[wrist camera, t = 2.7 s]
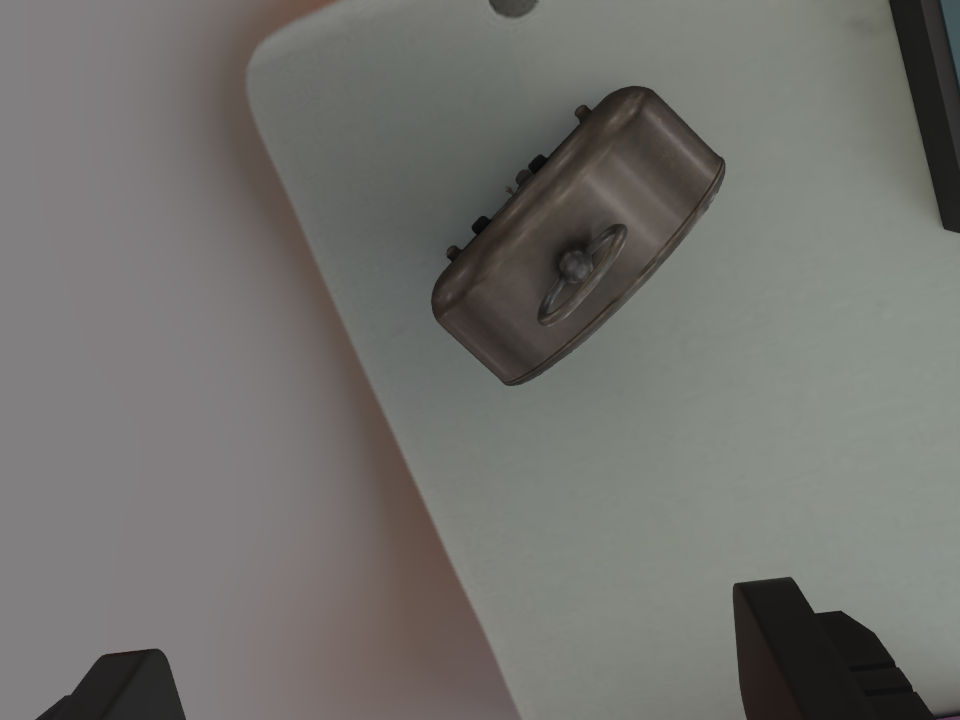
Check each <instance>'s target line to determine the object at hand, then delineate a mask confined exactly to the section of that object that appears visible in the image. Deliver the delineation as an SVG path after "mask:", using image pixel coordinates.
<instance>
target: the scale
mask: <svg viewBox="0 0 960 720" xmlns="http://www.w3.org/2000/svg"><path fill="white" fill-rule="evenodd" d="M890 4H891V8H892V12H893V16H894V21H895V25H896V29H897V33H898V37H899V41H900V46H901V50H902V54H903V58H904V62H905V67H906V71H907V75H908V79H909V83H910V87H911V92H912V96H913V100H914V104H915V108H916V112H917V117H918V121H919V125H920V129H921V133H922V138H923V142H924V146H925V150H926V154H927V158H928V163H929V167H930V171H931V175H932V179H933V183H934V188H935V192H936V196H937V200H938V204H939V209H940V213H941V217H942V221H943V225H944V229H945V230H949V231H953V232H957V233H960V0H890Z"/></svg>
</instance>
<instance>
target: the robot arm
mask: <svg viewBox="0 0 960 720" xmlns="http://www.w3.org/2000/svg"><path fill="white" fill-rule="evenodd" d="M733 606H734V619H735V632H736V645H737V658H738V671H739V683H740V690H741V696H742V701H743V706H744V710H745V714H746V718H747V720H936V719H935V717H934V716H933V715H932V713H931V712H930V710H929V709H928V708H927V706H926V705H925V703H924V702H923V701H922V699H921V698H920V696H919V695H918V694H917V692H913V689H912V685H911V684H910V682H909V681H908V679H907V678H906V677H905V675H904V674H903V672H902V671H901V670H900V668H899V667H897V668H896V665H895V661H894V660H893V658H892V657H891V656H890V654H889V653H888V651H887V650H886V649H885V647H884V646H883V644H882V643H881V642H880V640H879V639H878V637H877V636H876V635H875V633H874V632H872V631H871V630H869V629H868V628H866V627H865V626H863V625H862V624H860V623H859V622H857V621H856V620H854V619H853V618H851V617H850V616H848V615H847V614H845V613H844V612H842V611H833V612H824V613H814V611H813V610H812V608H811V606H810V605H809V603H808V602H807V600H806V598H805V597H804V595H803V594H802V592H801V590H800V589H799V587H798V586H797V584H796V582H795V581H794V580H793V579H792V578H791V577H785V578H776V579H767V580H759V581H750V582H741V583H735V584H734V586H733ZM36 720H186V718H185V715H184V712H183V708H182V705H181V702H180V698H179V695H178V692H177V688H176V685H175V682H174V679H173V675H172V672H171V669H170V665H169V662H168V660H167V658H166V656H165V654H164V653H163V652H162V651H161V650H159V649H147V650H139V651H130V652H122V653H113V654H105V655H103V656H101V657H100V658H99V659H98V660H97V661H96V662H95V664H94V665H93V666H92V668H91V669H90V670H89V672H88V673H87V674H86V675H85V677H84V678H83V679H82V681H81V682H80V684H79V685H78V686H77V687H76V689H75V690H74V691H73V693H72V694H71V695H68V696H64V697H63V698H62V699H61V700H59V701H58V702H57V703H56V704H54V705H53V706H52V707H51V708H49V709H48V710H47V711H46V712H44V713H43V714H42V715H41V716H39V717H38V718H37V719H36Z"/></svg>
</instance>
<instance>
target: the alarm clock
mask: <svg viewBox="0 0 960 720" xmlns="http://www.w3.org/2000/svg"><path fill="white" fill-rule="evenodd" d="M575 116H576V117H577V118H578V119H579V121H580V124H579V125H578V126H577V127H576V128H575V129H574V130H573V131H572V133H571V134H570V135H569V136H568V137H567V138H566V139H565V140H564V141H563V142H562V143H561V144H560V145H559V146H558V147H557V148H556V149H555V150H554V151H553V153H552V154H551V155H550V156H549V157H548V158H545V157H544V156H543V155H541V154H540V155H538V156H537V157H536V158H535V159H534V160H533V161H532V162H531V163H530V164H529V165H528V168H529V170H530V171H531V172H532V173H533V174H531V173H530V172H529V171H528V170H522V171H520V172H519V173H518V175H517V177H516V182H517V183H518V184H519V187H518V189H517V191H516V192H515V193H513V192H512V189H511V188H510V187H509V186H507V187H506V192H508V193H510V194H512V197H511V198H510V199H509V200H508V201H507V202H506V203H505V204H504V205H503V206H502V207H501V208H500V210H499V211H498V212H497V213H496V214H495V215H494V216H493V217H492V218H491V219H488V218H487V217H486V216H481V217H480V218H478V220H477V221H476V222H475V223H474V224H473V225H472V230H473V232H474V233H475V234H476V236H475V237H474V238H473V239H472V240H471V241H470V242H469V243H468V245H467V246H466V247H465V248H464V249H463V250H461V249H459V248H458V247H457V246H451V247H449V249H448V250H447V253H446V255H447V258H449V259H450V260H451V261H452V262H451V263H450V265H449V266H448V267H447V268H446V269H445V270H444V271H443V272H442V274H441V275H440V276H439V278H438V280H437V281H436V283H435V286H434V289H433V292H432V299H431V304H432V311H433V314H434V317H435V319H436V320H437V322H438V323H439V324H440V325H441V326H442V327H443V328H444V329H445V330H446V331H447V332H449V333H450V334H451V335H452V336H453V337H454V338H455V339H456V340H457V341H458V342H459V343H460V344H462V345H463V346H464V347H465V348H466V349H467V350H468V351H469V352H470V353H471V354H473V355H474V356H475V357H476V358H477V359H478V360H479V361H480V362H481V363H482V364H483V365H485V366H486V367H487V368H488V369H489V370H490V371H491V372H492V373H493V374H494V375H496V376H497V377H498V378H499V379H500V380H501V381H502V383H504V384H505V385H507V386H515V385H521V384H523V383H525V382H527V381H530V380H532V379H534V378H535V377H537V376H538V375H541V374H542V373H543V372H544V371H546V370H547V369H549V368H550V367H552V366H553V365H554V364H556V363H557V362H558V361H559V360H561V359H562V358H564V357H565V356H567V355H568V354H569V353H571V352H572V351H573V350H574V349H576V348H577V347H578V346H579V345H581V344H582V343H583V342H584V341H586V340H587V339H588V338H589V337H590V336H591V335H592V334H593V333H594V332H595V331H597V330H598V329H599V328H600V327H601V326H602V325H603V324H604V323H605V322H606V321H607V320H608V319H609V318H610V317H611V316H612V315H614V314H615V313H616V312H617V311H618V310H619V309H620V308H621V307H622V306H623V305H624V304H625V303H626V302H627V301H628V300H629V299H630V298H631V297H632V296H633V295H634V294H635V293H636V292H637V291H638V290H639V289H640V288H641V287H642V286H643V284H644V283H645V282H646V281H647V280H648V279H649V278H650V277H651V276H652V275H653V274H654V273H655V271H656V270H657V269H658V268H659V267H660V266H661V265H662V263H663V262H664V261H665V260H666V259H667V258H668V257H669V256H670V255H671V253H672V252H673V251H674V250H675V249H676V248H677V247H678V245H679V244H680V243H681V241H682V240H683V239H684V238H685V237H686V236H687V234H688V233H689V232H690V231H691V229H692V228H693V227H694V226H695V224H696V223H697V222H698V221H699V220H700V218H701V217H702V215H703V214H704V213H705V212H706V210H707V209H708V208H709V205H710V204H711V203H712V201H713V199H714V197H715V195H716V194H717V193H718V191H719V188H720V186H721V184H722V181H723V179H724V175H725V161H724V159H723V158H722V157H720V156H718V155H717V154H716V153H715V152H714V151H713V150H712V149H711V148H710V147H709V146H708V145H707V144H706V143H705V142H704V141H703V140H702V139H701V138H700V137H699V136H698V135H697V134H696V133H695V132H694V131H693V130H692V129H691V128H690V127H689V126H688V125H687V124H686V123H685V122H684V121H683V120H682V119H681V118H680V117H679V116H678V115H677V114H676V113H675V112H674V111H673V110H672V109H671V108H670V107H669V106H668V105H667V104H666V103H665V102H664V101H663V100H662V99H661V98H660V97H659V96H658V95H657V94H656V93H655V92H654V91H653V90H651V89H649V88H646V87H640V86H630V87H625V88H621V89H619V90H617V91H614V92H612V93H610V94H609V95H608V96H606V97H605V98H604V99H603V100H602V101H601V102H600V103H599V104H598V105H597V106H596V107H595V108H594V109H593V110H592V111H591V110H590V109H589V108H588V107H587V106H586V105H581V106H579V107H578V108H577V109H576V111H575Z"/></svg>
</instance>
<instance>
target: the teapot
mask: <svg viewBox="0 0 960 720" xmlns="http://www.w3.org/2000/svg"><path fill="white" fill-rule="evenodd" d="M936 720H960V716H956V717H949V718H943V719H936Z"/></svg>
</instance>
